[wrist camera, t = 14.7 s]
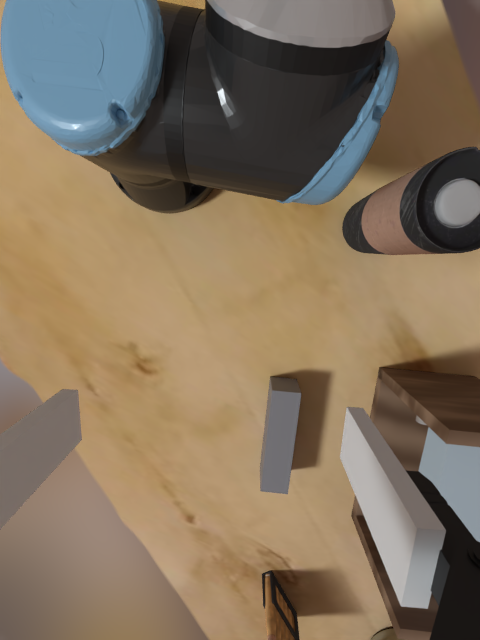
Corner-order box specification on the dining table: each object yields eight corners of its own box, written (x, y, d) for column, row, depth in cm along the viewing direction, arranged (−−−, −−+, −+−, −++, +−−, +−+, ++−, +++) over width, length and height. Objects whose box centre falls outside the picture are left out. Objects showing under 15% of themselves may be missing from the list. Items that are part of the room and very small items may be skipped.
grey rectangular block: (270, 376, 48) (272, 390, 43) (296, 379, 47) (301, 393, 43) (259, 468, 51) (260, 491, 46) (284, 471, 51) (287, 494, 46)
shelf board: (432, 411, 38) (453, 429, 34) (489, 416, 38) (516, 435, 34) (398, 557, 43) (413, 587, 39) (449, 562, 43) (469, 593, 39)
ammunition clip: (261, 573, 55) (263, 659, 43) (271, 569, 55) (275, 655, 43) (287, 617, 57) (296, 711, 45) (296, 613, 57) (308, 707, 45)
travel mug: (350, 263, 44) (428, 269, 24) (332, 210, 42) (400, 171, 23) (404, 242, 43) (531, 230, 23) (387, 187, 41) (507, 126, 22)
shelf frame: (379, 367, 46) (449, 429, 30) (474, 376, 46) (599, 444, 29) (351, 515, 52) (397, 638, 35) (436, 525, 52) (523, 653, 35)
